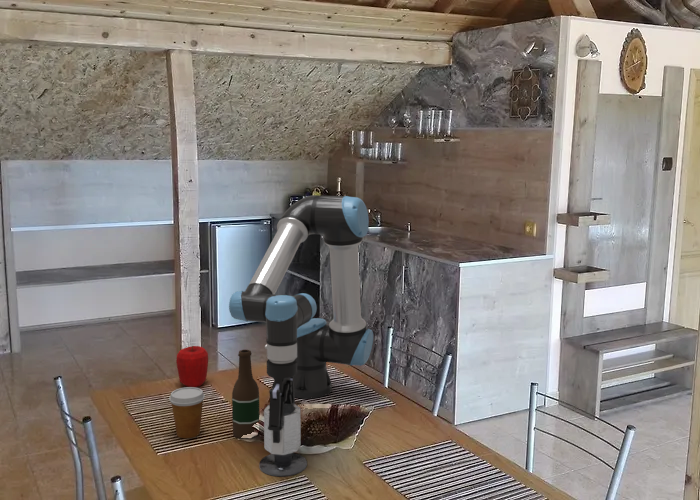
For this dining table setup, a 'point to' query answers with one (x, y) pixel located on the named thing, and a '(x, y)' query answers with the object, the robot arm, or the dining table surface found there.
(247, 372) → the beer bottle
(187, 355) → the apple
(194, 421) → the disposable coffee cup
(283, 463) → the duct stub
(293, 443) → the sleeve
